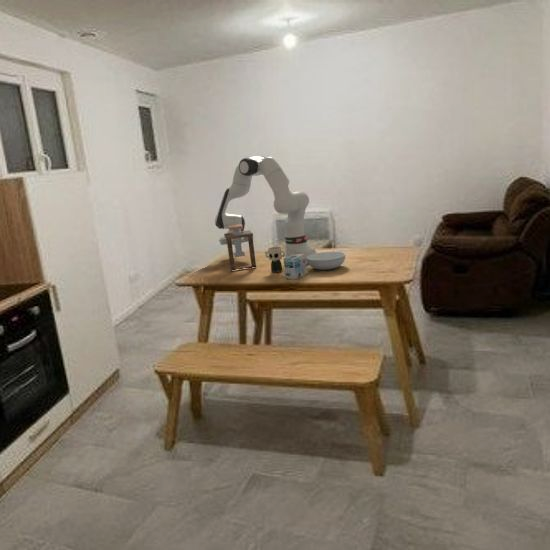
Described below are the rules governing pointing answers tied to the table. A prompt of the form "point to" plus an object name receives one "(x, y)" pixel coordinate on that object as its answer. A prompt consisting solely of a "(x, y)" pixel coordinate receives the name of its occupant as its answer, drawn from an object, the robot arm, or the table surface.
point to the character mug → (275, 258)
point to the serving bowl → (326, 260)
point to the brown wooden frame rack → (230, 250)
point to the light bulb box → (295, 266)
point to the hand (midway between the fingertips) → (237, 241)
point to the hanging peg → (237, 240)
